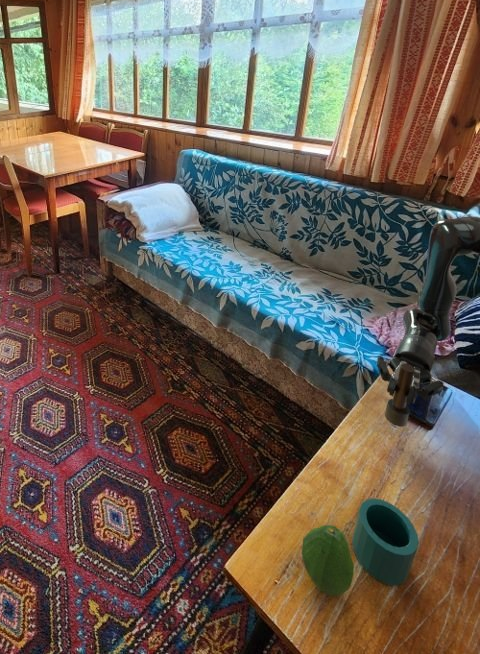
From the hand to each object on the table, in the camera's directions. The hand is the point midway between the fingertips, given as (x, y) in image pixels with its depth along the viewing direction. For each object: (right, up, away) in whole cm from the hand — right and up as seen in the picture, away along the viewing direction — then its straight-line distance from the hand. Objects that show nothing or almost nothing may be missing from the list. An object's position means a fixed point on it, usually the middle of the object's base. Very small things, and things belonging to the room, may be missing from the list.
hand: (400, 396), depth 85 cm
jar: (-16, -21, -16) cm, 31 cm away
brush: (+3, -8, +5) cm, 10 cm away
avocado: (-28, -23, -18) cm, 41 cm away
